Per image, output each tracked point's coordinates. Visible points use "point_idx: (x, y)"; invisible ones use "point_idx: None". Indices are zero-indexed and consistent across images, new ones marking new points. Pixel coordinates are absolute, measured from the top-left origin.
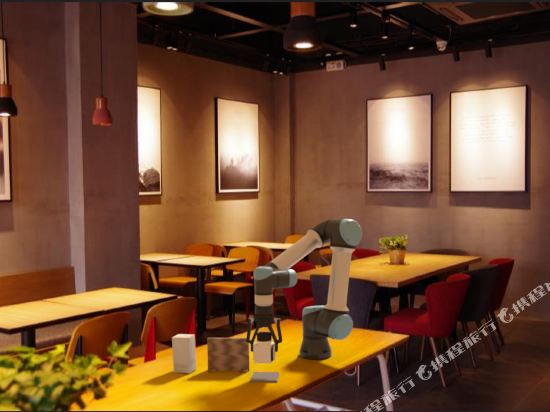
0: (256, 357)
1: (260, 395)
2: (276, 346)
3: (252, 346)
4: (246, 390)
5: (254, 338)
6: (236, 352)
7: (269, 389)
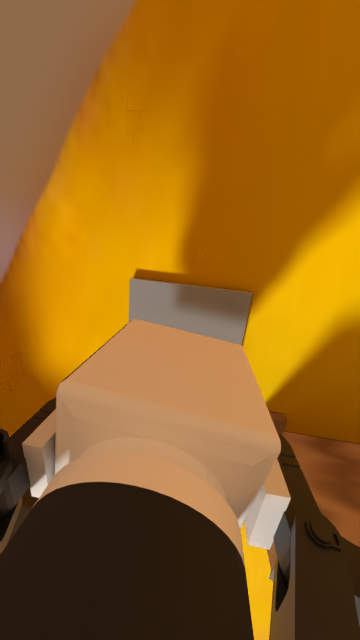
0: (232, 357)
1: (210, 59)
2: (27, 433)
3: (285, 480)
4: (280, 159)
5: (307, 637)
6: (339, 523)
7: (163, 173)
